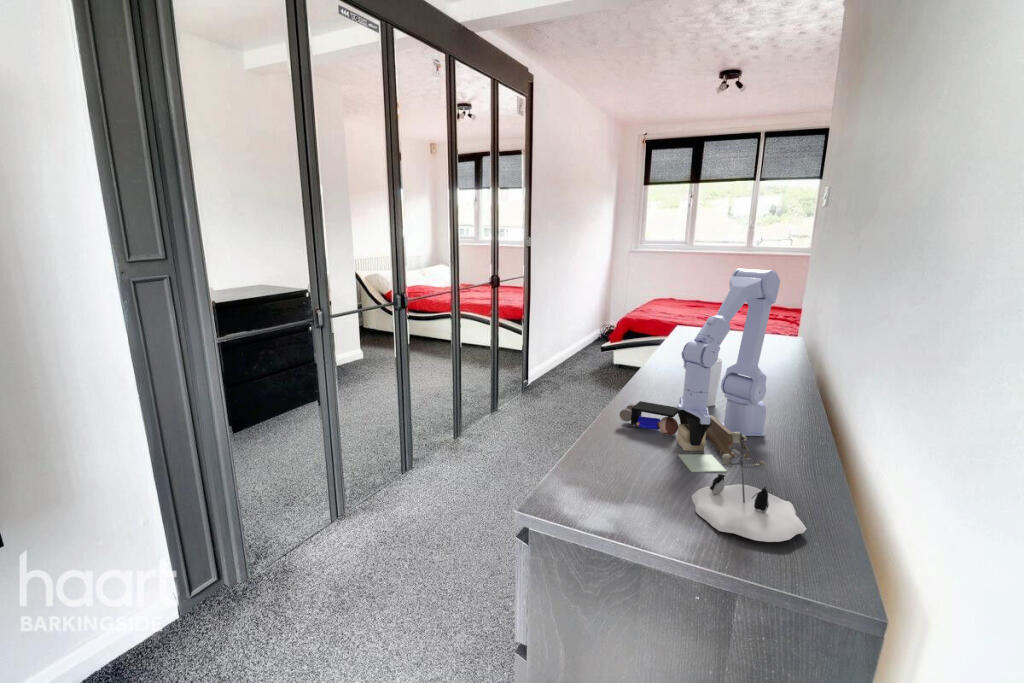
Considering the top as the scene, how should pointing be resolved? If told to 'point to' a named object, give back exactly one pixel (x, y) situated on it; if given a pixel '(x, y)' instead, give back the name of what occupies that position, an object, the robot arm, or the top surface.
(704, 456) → the pad
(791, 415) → the top surface
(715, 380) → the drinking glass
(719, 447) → the brown piece
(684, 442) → the letter cube
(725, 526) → the figurine
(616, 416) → the top surface
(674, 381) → the top surface
